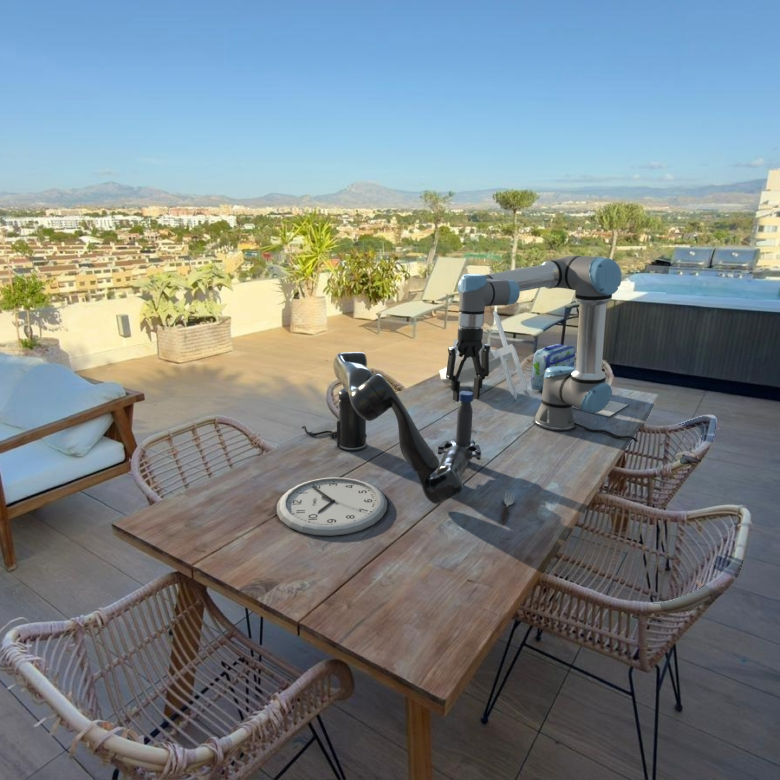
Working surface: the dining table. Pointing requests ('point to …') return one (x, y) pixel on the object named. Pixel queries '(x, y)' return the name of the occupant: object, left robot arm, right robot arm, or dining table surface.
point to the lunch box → (550, 362)
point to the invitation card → (611, 408)
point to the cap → (466, 396)
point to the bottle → (464, 424)
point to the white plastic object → (492, 363)
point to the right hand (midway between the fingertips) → (466, 399)
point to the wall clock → (331, 506)
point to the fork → (507, 502)
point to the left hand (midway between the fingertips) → (464, 441)
